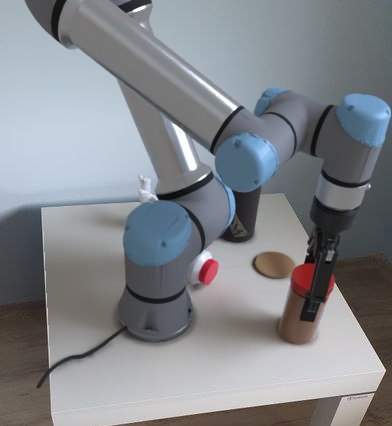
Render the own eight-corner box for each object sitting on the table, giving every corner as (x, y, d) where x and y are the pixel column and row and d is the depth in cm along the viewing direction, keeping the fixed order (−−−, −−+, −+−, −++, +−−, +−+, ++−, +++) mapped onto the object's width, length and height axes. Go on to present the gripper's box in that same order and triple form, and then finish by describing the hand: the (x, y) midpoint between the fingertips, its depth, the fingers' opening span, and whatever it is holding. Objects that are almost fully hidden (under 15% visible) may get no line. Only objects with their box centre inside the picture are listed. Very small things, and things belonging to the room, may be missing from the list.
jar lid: (341, 292, 97) (344, 284, 96) (306, 304, 94) (308, 296, 93) (315, 266, 102) (318, 258, 100) (281, 277, 99) (283, 269, 97)
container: (212, 225, 129) (221, 149, 114) (245, 219, 132) (258, 143, 117) (227, 246, 124) (238, 170, 109) (260, 239, 127) (276, 163, 112)
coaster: (273, 283, 116) (273, 281, 116) (247, 261, 121) (247, 259, 120) (302, 270, 120) (302, 268, 120) (276, 249, 125) (276, 247, 124)
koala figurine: (129, 218, 128) (128, 174, 119) (155, 213, 130) (155, 169, 122) (141, 238, 123) (141, 193, 114) (168, 233, 126) (169, 188, 117)
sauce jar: (296, 349, 104) (312, 299, 93) (270, 326, 107) (283, 275, 97) (323, 334, 107) (341, 284, 97) (297, 312, 111) (312, 261, 101)
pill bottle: (173, 267, 120) (213, 287, 116) (155, 270, 113) (197, 292, 109) (184, 235, 117) (225, 255, 113) (166, 236, 110) (209, 257, 106)
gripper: (367, 244, 77) (328, 346, 93) (355, 167, 92) (323, 266, 108) (316, 237, 77) (286, 340, 94) (312, 161, 92) (287, 261, 109)
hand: (306, 300), depth 101 cm, fingers open, 10 cm apart
